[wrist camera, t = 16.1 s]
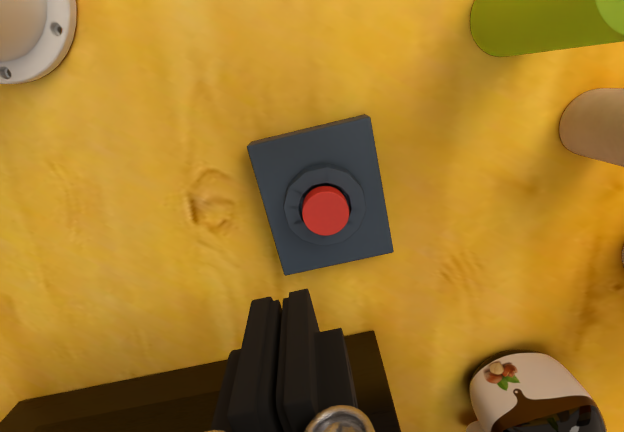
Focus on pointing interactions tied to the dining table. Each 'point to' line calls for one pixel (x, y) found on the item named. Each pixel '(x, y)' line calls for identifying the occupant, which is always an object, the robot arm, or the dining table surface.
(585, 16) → the soap dispenser
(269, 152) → the dark grey flat block
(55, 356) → the dining table surface
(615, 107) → the candle
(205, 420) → the oven door
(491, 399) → the spread jar
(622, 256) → the reusable coffee cup
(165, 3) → the dining table surface
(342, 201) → the timer button
